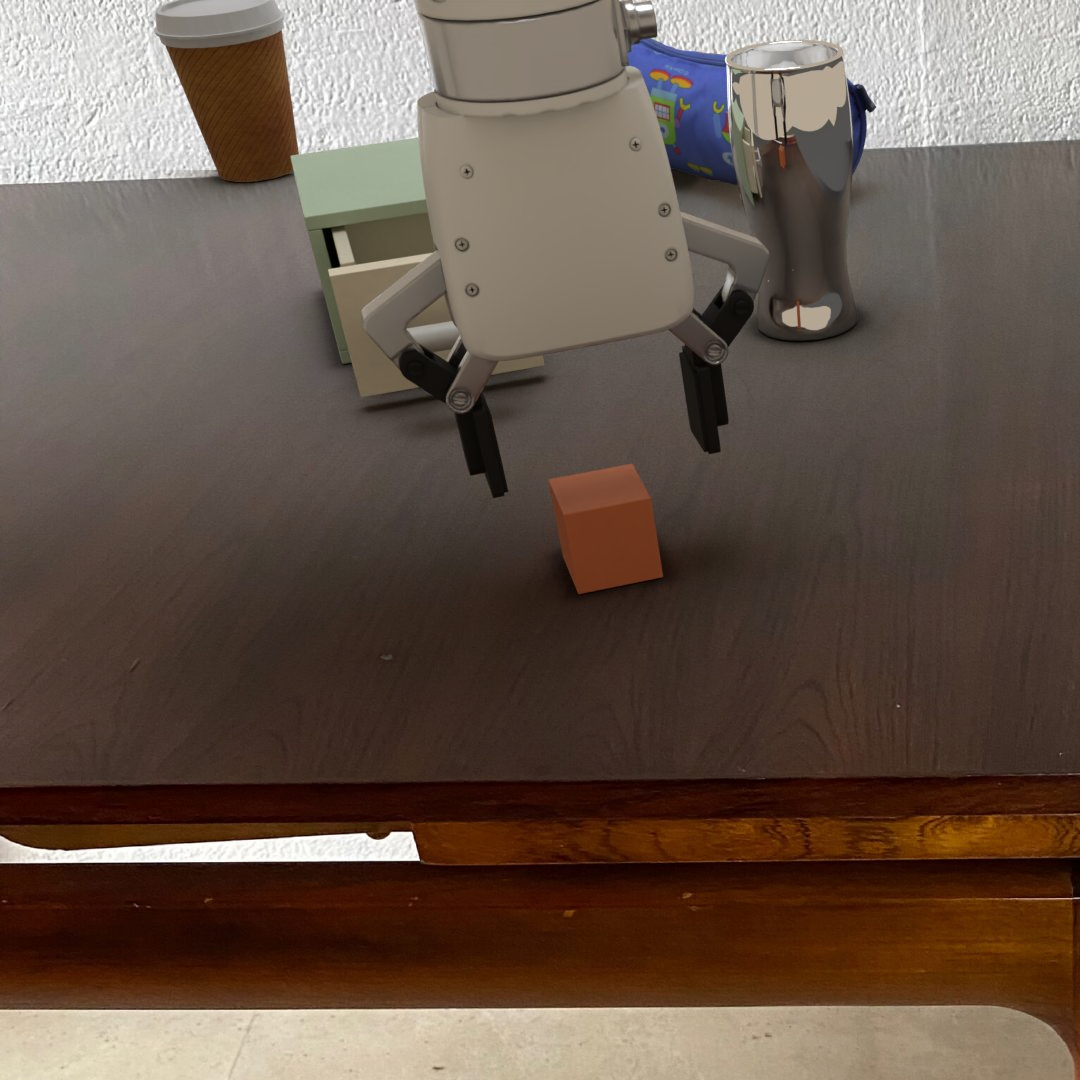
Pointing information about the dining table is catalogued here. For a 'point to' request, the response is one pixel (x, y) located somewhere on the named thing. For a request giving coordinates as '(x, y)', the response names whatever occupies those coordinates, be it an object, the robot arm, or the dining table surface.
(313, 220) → the cabinet
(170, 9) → the disposable coffee cup
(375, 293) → the drawer
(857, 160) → the pencil case
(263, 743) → the dining table surface
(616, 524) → the block
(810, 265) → the beer glass
